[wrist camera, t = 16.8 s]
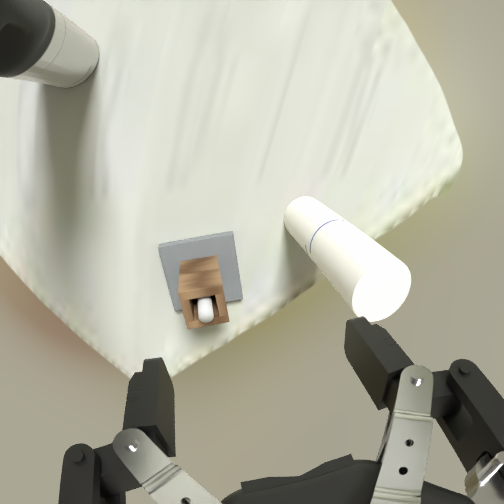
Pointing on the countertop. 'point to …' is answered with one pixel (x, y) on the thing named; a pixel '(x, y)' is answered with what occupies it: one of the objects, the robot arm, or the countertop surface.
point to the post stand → (198, 249)
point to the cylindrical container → (349, 259)
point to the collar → (201, 290)
